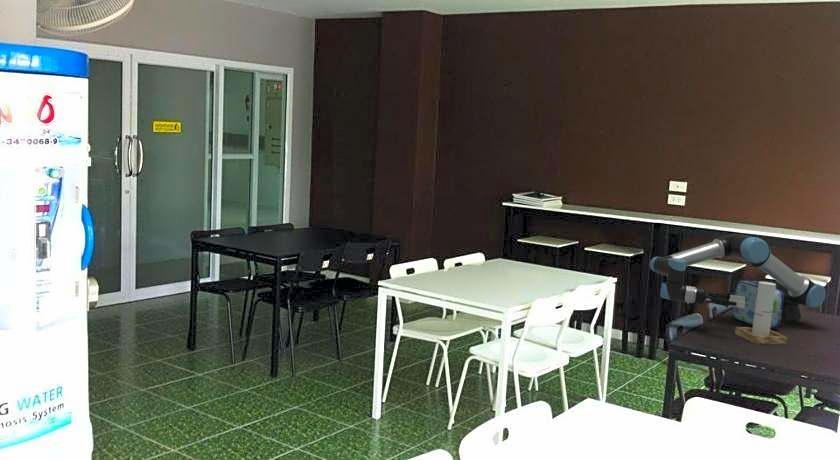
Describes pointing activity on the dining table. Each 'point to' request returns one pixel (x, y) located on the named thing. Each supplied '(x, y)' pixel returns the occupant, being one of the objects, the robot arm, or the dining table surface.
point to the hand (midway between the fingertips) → (744, 302)
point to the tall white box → (763, 308)
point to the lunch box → (750, 294)
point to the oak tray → (771, 339)
